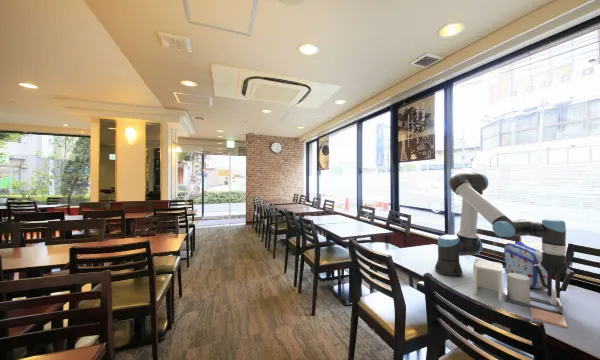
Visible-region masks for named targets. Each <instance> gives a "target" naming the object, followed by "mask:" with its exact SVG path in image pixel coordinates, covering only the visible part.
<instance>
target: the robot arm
mask: <svg viewBox="0 0 600 360" xmlns="http://www.w3.org/2000/svg"><path fill="white" fill-rule="evenodd" d="M448 185H449V187H450V189H451V191H452V192H453V193H454V194H455V195H457V196H459V197H461V199H462V200H461V213H460V226H459V231H457V233H456V235H453V234H443V235H440V236H439V237H438V239H437V260H436V263H435V266H434V271H435V272H436V273H438V274H440V275H443V276H446V277H449V278H450V277H452V278H461V277H463V275H464V274H463V273H464V272H463V269H462V265H461V263H460V257H461V256H462V257H463V256H464V257H465V256H475V255H479V254H480V253H481V252H482V251H483V243H482V241H481V239H480V238H479V235H478V234H477V228H478V227H477V226H478V225H477V224H478V217H479V216H478V215H479V214H480V216H482V217H483V218H484V219H485V220H486V221H487V222H488V223H490V224H491V225H492V227H491V228H492V230H493V233H494V234H495V235H496V236H498V237H504V238H511V237H527V236H529V237H531V236H532V237H536V238H540V239H541V250H542V251H541V252H542V261H541V262H540V264H537V265H536V264H535V265H534V267H535V268H536V269H537V271H538V274H539V277H540V280H541V283H542V286H543V287H545V288H547V289H546V290H547V291H546V292H547V296H548V297H550V301H551V304H550V305H552V306H555V305H556V298H559V299H560V298H561V292H566V291H567V288H568V287H569V284H570V282H571V280H572V277H573V276H575V274H576V273H575V272H574V270H571V269H570V268H568V265H567V256H566V253H567V249H566V245H567V244H566V239H567V237H566V235H567V228H566V222H565V221H564V220H562V219H561V220H560V219H557V218H556V219H555V218H554V219H553V218H543V219H541V221H535V220H528V219H523V218H517V219H515V220H511V218H509V217H508V216H507V215H505V214H504V213H503V212H502V211H500V210H499V209H498V208H497V207H495V205H493V204H492V203H491V202H490V201H489V200H487V199H486V198H485V197H484V196H483V194H484V191H485V190H486V189H487V188H488V186H489V179H488V177H487V176H486V175H485V174H484V173H481V172H476V171H474V172H464V171H463V172H455V173H454V174H453V175H451V177H450V178H449V180H448ZM541 267H543V268H544V269H545V270H546V271H547V284H545V281H544V278H543V275H542V272H541V270H540V269H542V268H541ZM563 273H566V274H565V276H564V278H563V281H562V284H561V274H563ZM553 274H554V275H555V276H554V277H555V278H554V284H555V285H554V286H555V287H554V288H552V287H553Z"/></svg>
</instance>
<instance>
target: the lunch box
mask: <svg viewBox="0 0 600 360" xmlns="http://www.w3.org/2000/svg"><path fill="white" fill-rule="evenodd" d="M503 250H504V251H503V255H504V257H503V258H504V261H503V262H502V269H504V272H505V274H508V273H517V274H521V275H525V276H527V277H529V278H530V288H532V289H533V288H534V289H542V290H547V288H545V287H543V286H542V283H541V280H540V277H539V274H538V271H537V269H536V268H535V267H534V265H535V264H536V265H537V264H540V262H541V261H542V252H543V251H541V250H538V249H535V248H533V247H530V246H528V245H526V244H525V243H524V242H522V241H516V242H515V243H514V242H507V243H506V244H504V249H503ZM541 268H542V269H540V270H541V272H542V275H543V278H544V281H545V284H547V271H546V270H545V269H544V268H543V267H541Z"/></svg>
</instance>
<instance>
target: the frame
mask: <svg viewBox="0 0 600 360" xmlns="http://www.w3.org/2000/svg"><path fill="white" fill-rule="evenodd" d="M530 300H531V301H535V302H539V303H544V304H548V305H552V304H551V300H546V299H543V298H537V297H533V296H530ZM504 301H505V302H509V303H512V304H517V305H521V306H525V307H528V308H530V307H532V308H536V309H540V310H543V311H547V312H551V313H555V314H559V315H563V316H564V314H563V312H564V311H563V310H564V309H563V304H562V302H561V300H560V298H556V305H554V306H555V307H556V310H555V309H551V308H546V307H542V306H538V305H536V304H531V303H530V304H527V303H523V302H519V301H515V300H511V299H508V295H507V286H504Z"/></svg>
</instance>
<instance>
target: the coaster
mask: <svg viewBox="0 0 600 360" xmlns="http://www.w3.org/2000/svg"><path fill="white" fill-rule="evenodd" d="M529 309H530V312H531V316H532V320H536V321H539V322H543V323H547V324H550V323H551V324H552V325H554V326H558V327H562V328H565V329H568V327H569V326H568V324H567V322H566V319H565V317H564V314H563V315H559V314H555V313H551V312H547V311H543V310H540V309H536V308H532V307H529ZM551 324H550V325H551Z"/></svg>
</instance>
